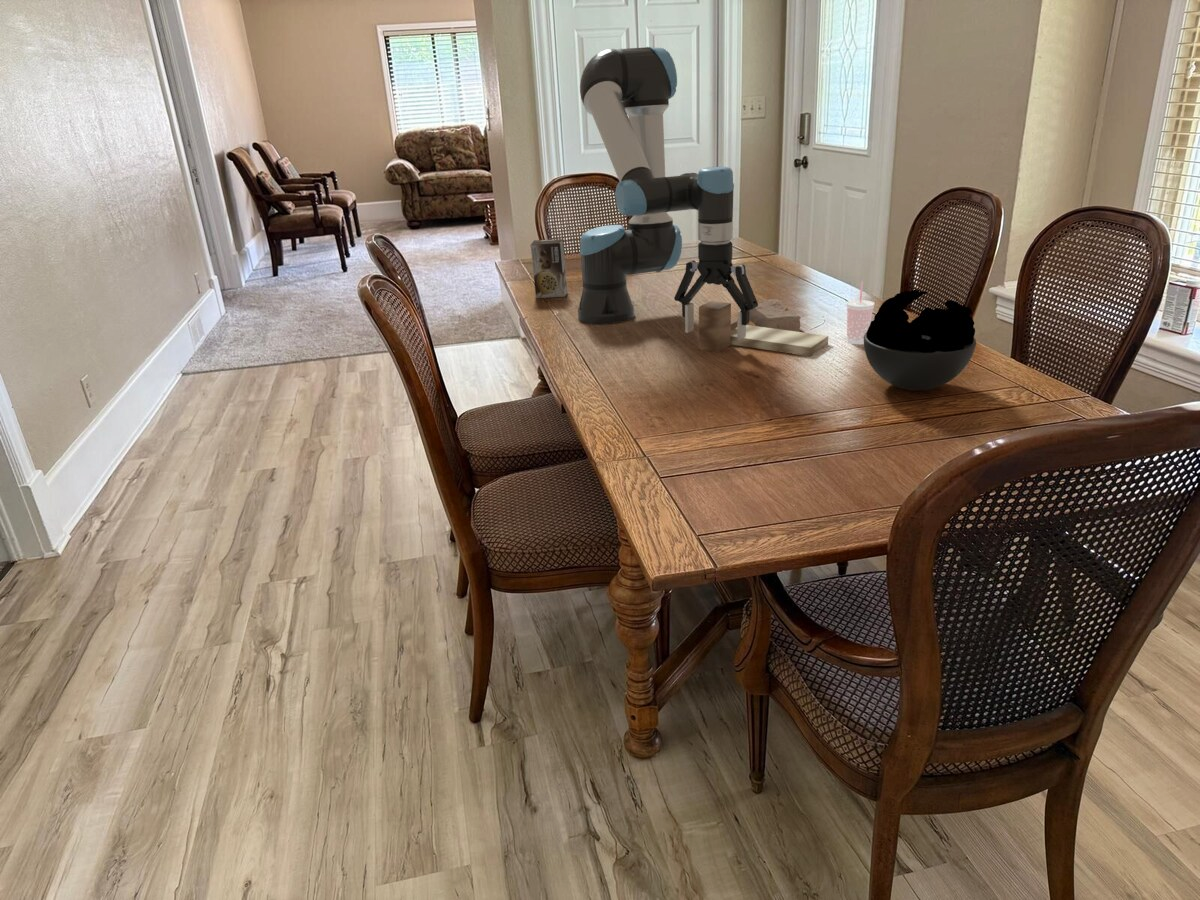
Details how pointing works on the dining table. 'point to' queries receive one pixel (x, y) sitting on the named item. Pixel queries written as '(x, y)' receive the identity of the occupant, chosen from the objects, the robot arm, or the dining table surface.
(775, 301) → the brick
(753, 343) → the board
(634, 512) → the dining table surface
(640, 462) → the dining table surface
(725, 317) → the brown block with handle
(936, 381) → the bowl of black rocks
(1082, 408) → the dining table surface
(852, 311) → the beverage cup
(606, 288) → the robot arm
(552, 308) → the dining table surface
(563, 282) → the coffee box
